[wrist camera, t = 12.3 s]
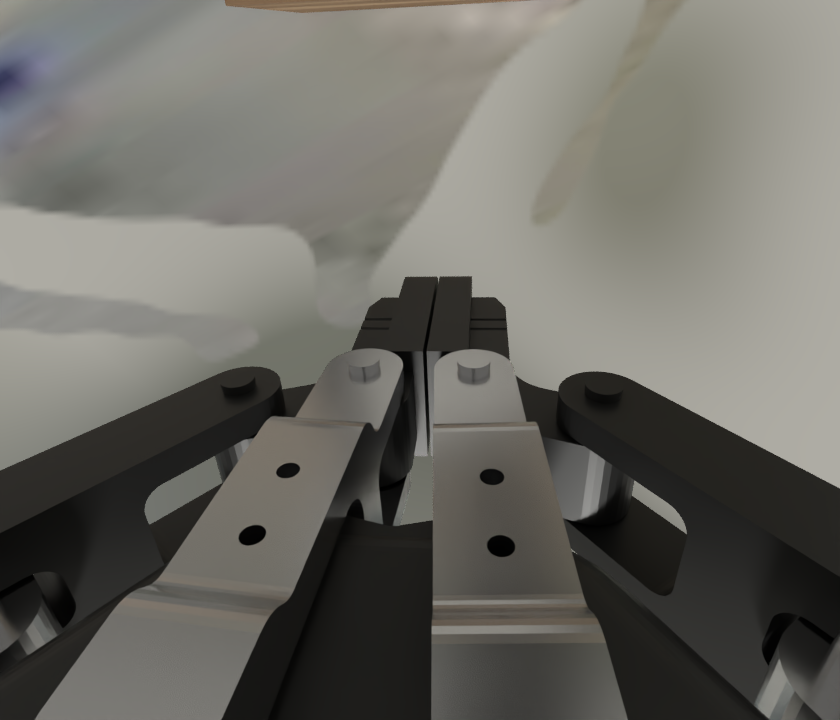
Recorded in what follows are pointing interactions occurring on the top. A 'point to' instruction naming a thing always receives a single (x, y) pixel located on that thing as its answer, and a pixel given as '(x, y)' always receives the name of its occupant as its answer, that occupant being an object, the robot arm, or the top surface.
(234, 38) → the top surface
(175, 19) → the top surface
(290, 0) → the shelf back
